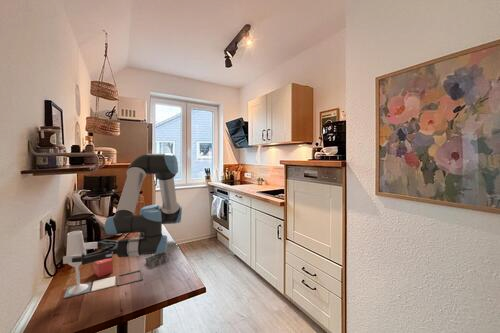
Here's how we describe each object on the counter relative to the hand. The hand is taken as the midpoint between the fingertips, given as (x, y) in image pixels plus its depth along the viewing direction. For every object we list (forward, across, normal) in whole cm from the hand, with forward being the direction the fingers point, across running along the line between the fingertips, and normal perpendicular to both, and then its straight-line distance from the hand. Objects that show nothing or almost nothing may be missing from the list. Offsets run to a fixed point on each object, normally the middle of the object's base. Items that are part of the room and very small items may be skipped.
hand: (72, 252), depth 92 cm
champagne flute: (-2, 0, -16) cm, 16 cm away
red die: (-6, +14, -16) cm, 22 cm away
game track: (-10, +2, -16) cm, 19 cm away
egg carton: (-29, +20, -16) cm, 39 cm away
